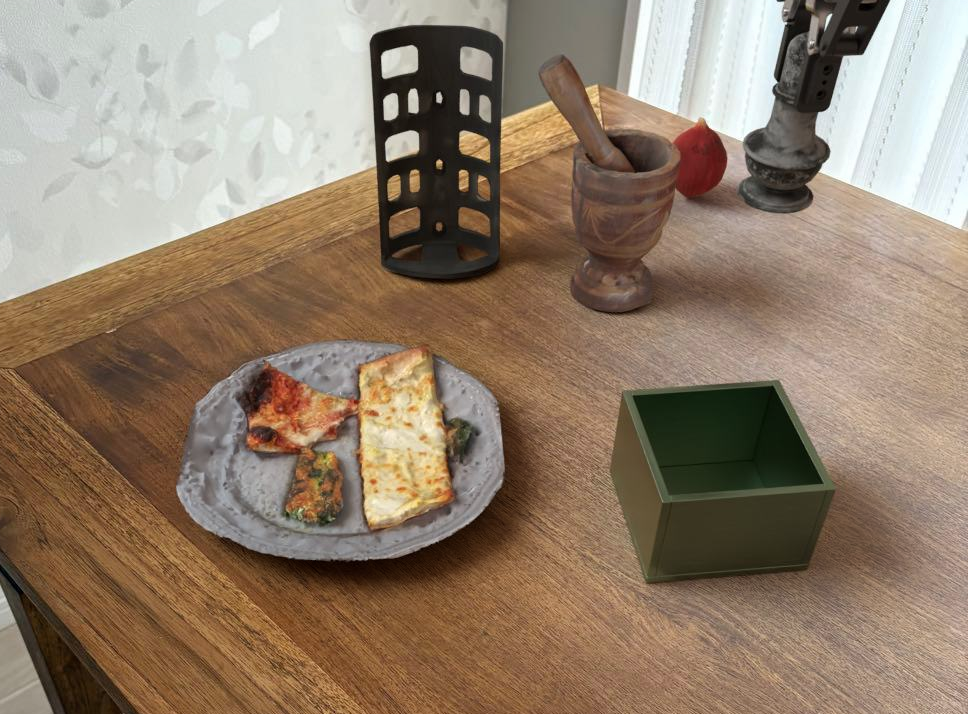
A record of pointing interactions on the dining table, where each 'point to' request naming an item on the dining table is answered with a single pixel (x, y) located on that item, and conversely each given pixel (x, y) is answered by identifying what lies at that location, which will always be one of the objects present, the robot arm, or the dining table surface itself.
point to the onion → (700, 160)
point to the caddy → (718, 481)
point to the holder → (438, 148)
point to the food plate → (342, 451)
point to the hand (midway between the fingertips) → (799, 94)
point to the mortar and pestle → (612, 196)
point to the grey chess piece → (784, 147)
